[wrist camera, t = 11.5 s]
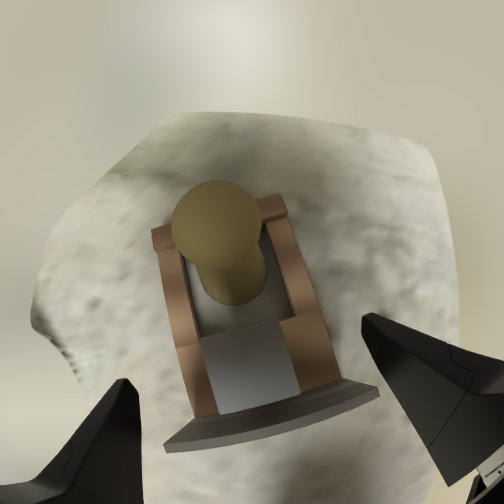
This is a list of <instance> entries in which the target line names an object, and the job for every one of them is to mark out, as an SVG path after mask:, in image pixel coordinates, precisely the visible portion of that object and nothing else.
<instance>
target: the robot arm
mask: <svg viewBox="0 0 504 504" xmlns="http://www.w3.org/2000/svg"><path fill="white" fill-rule="evenodd" d="M361 334H362V337H363V339H364V341H365V343H366V345H367V347H368V349H369V351H370V353H371V356H372V358H373V360H374V362H375V364H376V366H377V368H378V369H379V371H380V373H381V374H382V376H383V377H384V379H385V381H386V382H387V384H388V385H389V387H390V388H391V390H392V392H393V393H394V395H395V396H396V398H397V400H398V401H399V403H400V404H401V406H402V408H403V409H404V411H405V413H406V414H407V416H408V418H409V419H410V421H411V423H412V424H413V426H414V428H415V429H416V431H417V433H418V434H419V436H420V438H421V439H422V441H423V443H424V445H425V446H426V448H428V449H427V450H428V452H429V453H430V455H431V457H432V459H433V461H434V462H435V464H436V466H437V468H438V469H439V471H440V473H441V475H442V477H443V479H444V480H445V482H446V484H447V486H448V487H450V486H451V485H453V484H454V483H456V482H457V481H459V480H460V479H462V478H463V477H464V476H466V475H467V474H469V473H470V472H471V471H472V470H474V469H475V468H476V469H477V471H478V472H479V474H478V475H477V476H476V477H475V478H474V480H473V484H472V487H471V490H470V493H469V496H468V499H467V502H466V504H504V361H502V360H498V359H495V358H491V357H487V356H484V355H480V354H477V353H474V352H470V351H467V350H465V349H462V348H459V347H456V346H454V345H451V344H447V343H446V342H444V341H441V340H439V339H436V338H434V337H432V336H429V335H427V334H424V333H422V332H419V331H417V330H414V329H412V328H410V327H407V326H405V325H402V324H400V323H397V322H395V321H393V320H390V319H388V318H385V317H383V316H380V315H378V314H376V313H373V312H371V313H368V314H366V315H363V316H362V324H361ZM141 437H142V432H141V417H140V404H139V394H138V391H137V390H136V389H135V387H134V386H133V385H132V383H131V382H130V381H129V380H128V379H127V378H122V379H117V380H116V381H115V383H114V384H113V385H112V386H111V387H110V389H109V390H108V391H107V392H106V394H105V395H104V396H103V397H102V399H101V400H100V401H99V402H98V404H97V405H96V406H95V407H94V409H93V410H92V411H91V412H90V414H89V415H88V416H87V417H86V419H85V420H84V421H83V422H82V424H81V425H80V426H79V428H78V429H77V430H76V431H75V433H74V434H73V435H72V437H71V438H70V439H69V441H68V442H67V443H66V444H65V445H64V447H63V448H62V449H61V450H60V452H59V453H58V454H57V455H56V456H55V457H54V459H53V460H52V461H51V462H50V463H49V464H48V465H47V466H46V467H45V468H44V469H43V470H42V472H41V473H40V474H39V475H38V476H37V477H36V478H34V479H32V480H30V481H28V482H23V483H16V484H9V485H0V504H144V500H143V485H142V452H141Z"/></svg>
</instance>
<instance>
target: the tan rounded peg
mask: <svg viewBox="0 0 504 504" xmlns="http://www.w3.org/2000/svg"><path fill="white" fill-rule="evenodd" d="M171 227H172V237H173V240H174V242H175V244H176V247H177V249H178V250H179V252H180V253H181V254H182V255H183V256H184V257H185V258H186V259H187V260H188V261H189V262H190V263H192V264H194V265H196V268H197V271H198V275H199V278H200V281H201V283H202V286H203V288H204V290H205V292H206V293H207V294H208V295H209V296H210V297H211V298H212V299H213V300H215V301H217V302H219V303H221V304H225V305H232V306H234V305H240V304H245V303H247V302H248V301H250V300H252V299H254V298H255V297H256V296H257V295H258V294H259V293H260V292H261V291H262V289H263V287H264V285H265V283H266V278H267V266H266V262H265V259H264V256H263V254H262V252H261V249H260V247H259V244H258V240H259V239H260V232H261V217H260V212H259V208H258V207H257V205H256V203H255V202H254V200H253V199H252V197H251V196H250V194H249V193H247V192H246V191H245V190H243V189H242V188H241V187H239V186H236V185H233V184H230V183H228V182H220V181H212V182H207V183H202V184H200V185H198V186H196V187H194V188H192V189H191V190H190V191H188V192H187V193H186V194H185V195H184V196H183V197H182V198H181V200H180V201H179V203H178V204H177V206H176V208H175V209H174V213H173V216H172V220H171Z"/></svg>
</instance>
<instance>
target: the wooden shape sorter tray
mask: <svg viewBox="0 0 504 504" xmlns="http://www.w3.org/2000/svg"><path fill="white" fill-rule="evenodd" d="M254 202H255V203H256V205H257V207H258V208H259V212H260V217H261V230H264V229H266V232H267V235H268V238H269V241H270V244H271V247H272V250H273V253H274V256H275V259H276V262H277V265H278V268H279V271H280V274H281V277H282V280H283V283H284V286H285V289H286V293H287V296H288V299H289V302H290V305H291V308H292V311H293V314H294V317H292V318H289V319H285V320H282V321H279V319H278V317H276V318H272V319H269V320H265V321H262V322H258V323H255V324H251V325H248V326H244V327H240V328H237V329H233V330H229V331H225V332H221V333H217V334H213V335H209V336H205V337H200V333H199V329H198V325H197V321H196V317H195V312H194V308H193V303H192V299H191V294H190V290H189V285H188V280H187V276H186V271H185V266H184V261H183V255H182V254H181V253H180V252H179V250H178V249H177V247H176V244H175V242H174V240H173V237H172V227H171V223H170V224H167V225H164V226H160V227H157V228H154V229H151V233H152V241H153V248H154V250H155V251H156V252H157V253H158V259H159V266H160V272H161V278H162V284H163V290H164V295H165V300H166V305H167V311H168V315H169V320H170V325H171V330H172V334H173V339H174V343H175V347H176V351H177V355H178V359H179V363H180V367H181V371H182V375H183V379H184V382H185V386H186V389H187V393H188V396H189V400H190V403H191V407H192V410H193V413H194V416H195V418H194V419H193V420H192V421H190V422H189V423H188V424H187V425H186V426H185V427H183V428H182V429H181V430H180V431H179V432H177V433H176V434H175V435H174V436H172V437H171V438H170V439H169V440H167V441H166V442H165V443H164V444H163V446H164V448H165V451H166V453H176V452H187V451H196V450H204V449H211V448H217V447H223V446H229V445H234V444H240V443H245V442H249V441H254V440H258V439H262V438H266V437H270V436H274V435H278V434H282V433H285V432H289V431H292V430H295V429H299V428H302V427H305V426H308V425H311V424H314V423H317V422H320V421H323V420H326V419H328V418H331V417H334V416H336V415H339V414H341V413H344V412H346V411H349V410H351V409H354V408H356V407H358V406H361V405H363V404H365V403H367V402H370V401H372V400H374V399H376V398H378V397H380V394H379V390H378V387H375V386H371V385H367V384H363V383H359V382H355V381H352V380H348V379H344V378H341V374H340V371H339V368H338V364H337V361H336V358H335V355H334V351H333V348H332V345H331V342H330V339H329V335H328V332H327V329H326V326H325V323H324V320H323V317H322V314H321V311H320V308H319V305H318V302H317V299H316V296H315V293H314V290H313V287H312V284H311V282H310V279H309V276H308V273H307V270H306V267H305V265H304V262H303V259H302V256H301V253H300V251H299V248H298V245H297V243H296V240H295V237H294V234H293V232H292V229H291V226H290V224H289V221H288V219H287V214H288V211H287V208H286V206H285V203H284V201H283V198H282V196H281V193H279V194H275V195H271V196H267V197H263V198H259V199H255V200H254Z"/></svg>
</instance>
